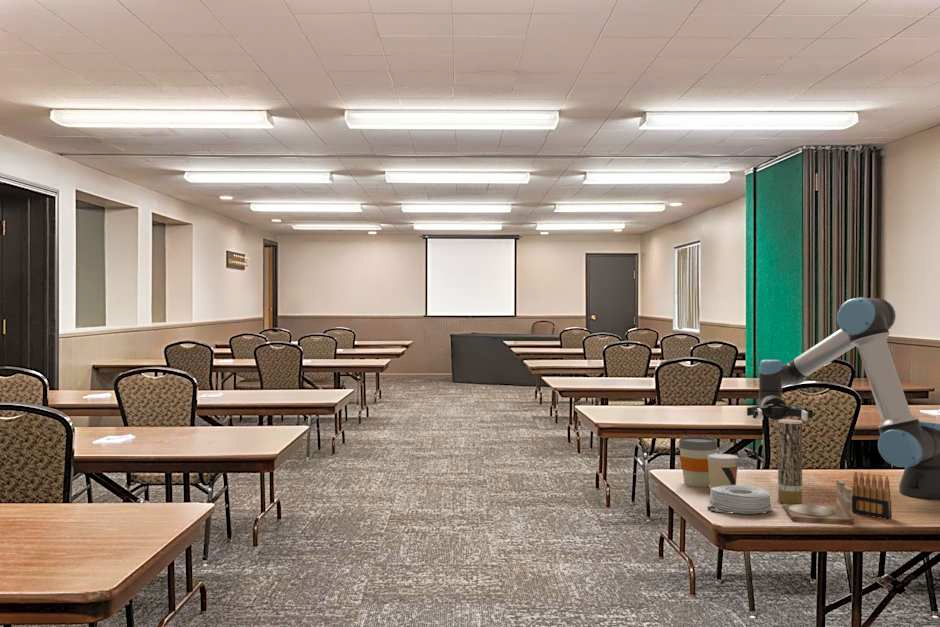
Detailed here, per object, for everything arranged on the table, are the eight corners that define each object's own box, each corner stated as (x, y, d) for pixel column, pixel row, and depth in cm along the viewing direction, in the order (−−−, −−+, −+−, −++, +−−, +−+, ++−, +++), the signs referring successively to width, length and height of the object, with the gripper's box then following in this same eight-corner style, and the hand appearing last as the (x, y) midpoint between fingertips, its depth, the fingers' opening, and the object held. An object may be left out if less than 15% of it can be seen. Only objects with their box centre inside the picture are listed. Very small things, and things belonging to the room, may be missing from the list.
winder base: (841, 510, 241) (841, 479, 241) (853, 524, 226) (853, 490, 226) (783, 507, 245) (783, 476, 245) (791, 521, 229) (791, 487, 229)
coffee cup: (727, 498, 257) (727, 459, 257) (701, 493, 265) (701, 455, 265) (743, 494, 263) (743, 456, 263) (718, 489, 271) (718, 452, 271)
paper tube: (798, 500, 254) (798, 419, 254) (805, 505, 247) (805, 422, 247) (775, 500, 255) (775, 419, 255) (781, 505, 248) (781, 422, 248)
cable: (704, 512, 240) (704, 491, 240) (713, 500, 256) (713, 480, 256) (768, 518, 233) (768, 497, 233) (773, 505, 249) (773, 485, 249)
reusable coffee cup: (672, 480, 284) (672, 437, 284) (706, 479, 287) (706, 436, 287) (689, 488, 272) (688, 442, 272) (724, 486, 274) (724, 441, 274)
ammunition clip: (850, 512, 239) (850, 471, 239) (853, 511, 240) (853, 470, 240) (888, 519, 231) (889, 476, 231) (891, 518, 232) (891, 476, 232)
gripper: (812, 420, 279) (825, 429, 258) (735, 417, 285) (741, 426, 264) (813, 397, 279) (825, 405, 258) (735, 395, 284) (742, 402, 264)
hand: (783, 415), depth 261 cm, fingers open, 13 cm apart
